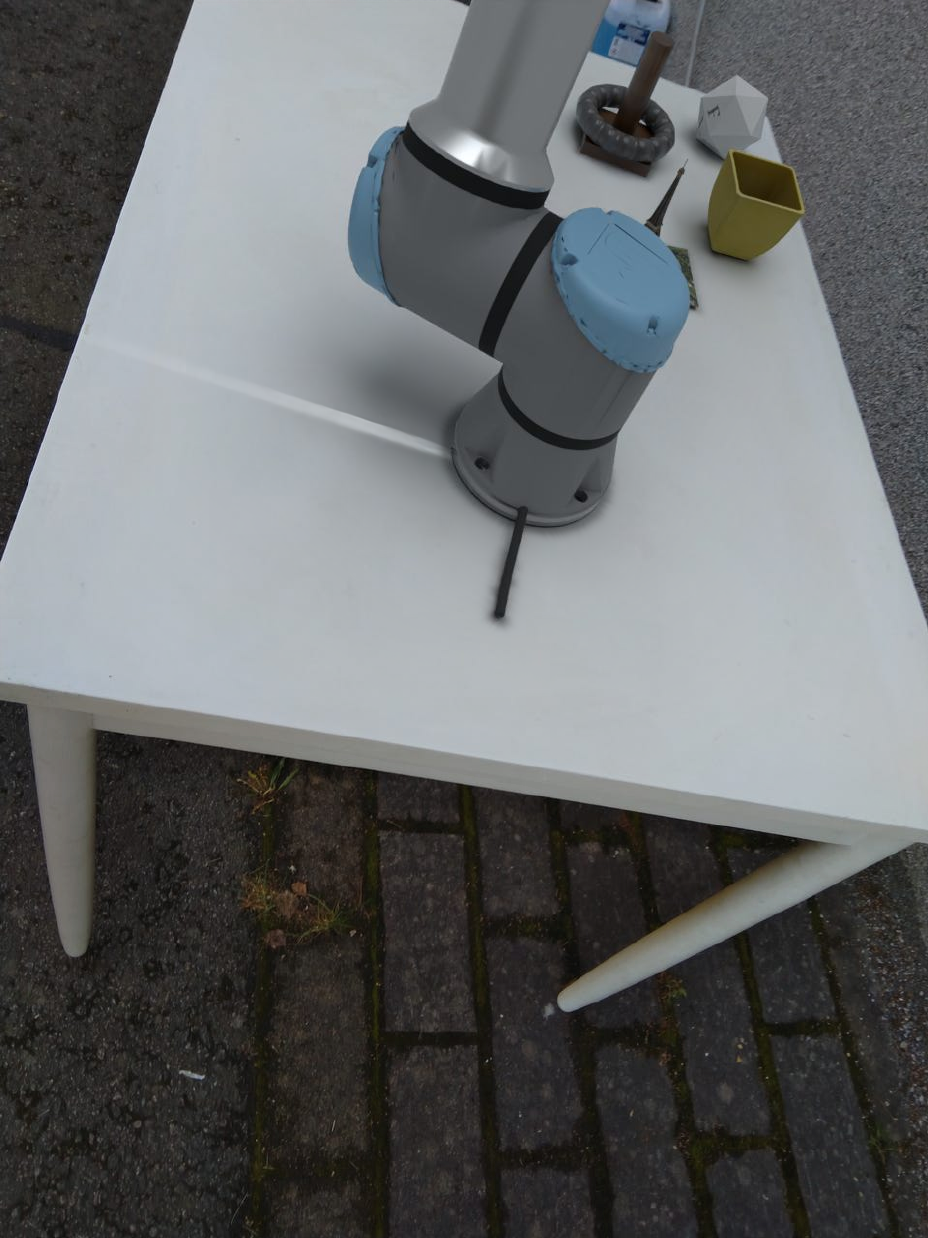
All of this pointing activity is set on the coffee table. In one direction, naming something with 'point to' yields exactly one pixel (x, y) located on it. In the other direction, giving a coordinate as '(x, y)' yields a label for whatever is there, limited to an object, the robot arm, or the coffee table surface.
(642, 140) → the grey ribbed ring
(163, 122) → the coffee table surface
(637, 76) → the wooden peg stand
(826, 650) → the coffee table surface
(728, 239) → the flower pot
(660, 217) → the eiffel tower figurine
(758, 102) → the die
